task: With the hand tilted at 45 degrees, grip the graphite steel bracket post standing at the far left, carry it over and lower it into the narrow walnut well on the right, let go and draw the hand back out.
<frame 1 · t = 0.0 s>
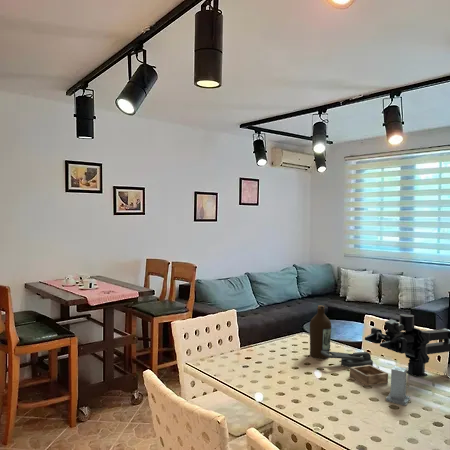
hand: (372, 341, 179), 17 cm above the table, tool horizontal, fingers open, 9 cm apart
bracket post: (398, 400, 160), on the table
olive oil: (319, 356, 210), on the table
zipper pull: (346, 365, 198), on the table
well: (368, 379, 181), on the table
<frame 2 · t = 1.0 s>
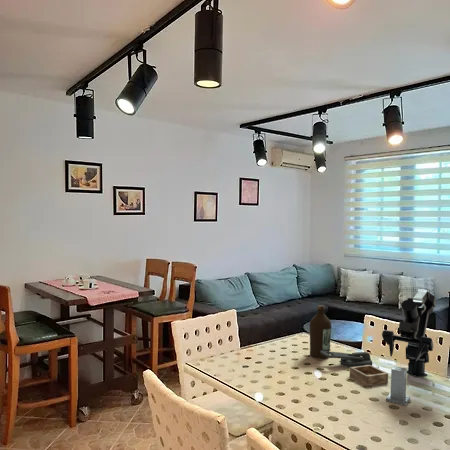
hand: (403, 358, 166), 14 cm above the table, tool tilted 45°, fingers open, 9 cm apart
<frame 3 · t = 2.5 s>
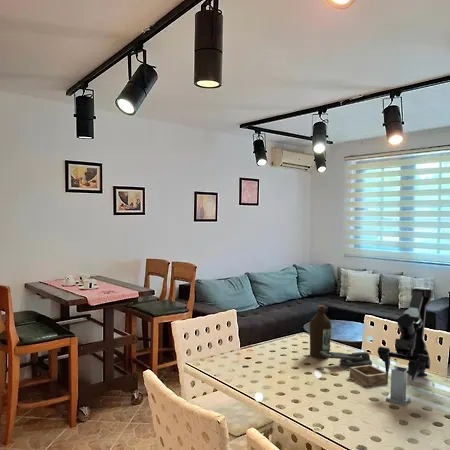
hand: (399, 376, 161), 9 cm above the table, tool tilted 45°, fingers open, 9 cm apart
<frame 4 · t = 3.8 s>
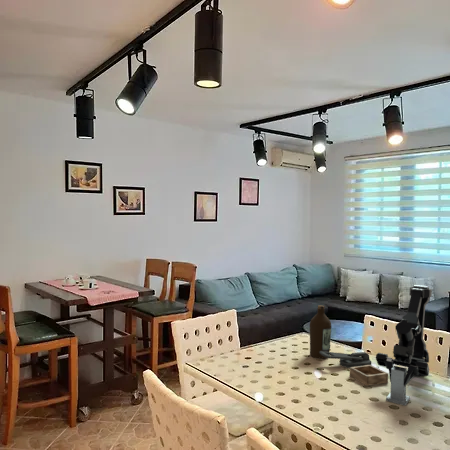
hand: (397, 383, 159), 7 cm above the table, tool tilted 45°, fingers closed on bracket post, 4 cm apart
bracket post: (398, 400, 160), on the table, touching gripper
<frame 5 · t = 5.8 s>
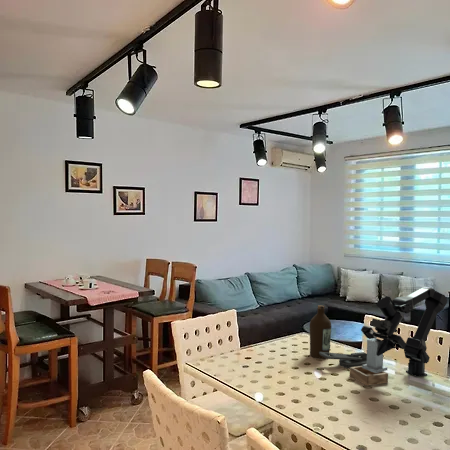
hand: (372, 353, 173), 13 cm above the table, tool tilted 45°, fingers closed on bracket post, 4 cm apart
bracket post: (374, 368, 174), point 7 cm above the table, touching gripper
when the fingers open (9 cm above the table, at t = 7.8 s): bracket post drops 1 cm, resting on well.
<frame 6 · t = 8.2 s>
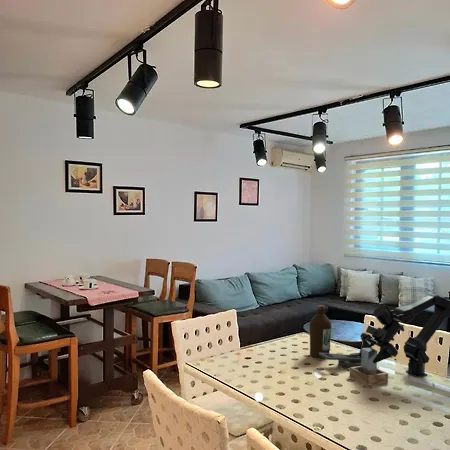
hand: (366, 359, 180), 9 cm above the table, tool tilted 45°, fingers open, 9 cm apart
bracket post: (368, 377, 181), point 1 cm above the table, touching well
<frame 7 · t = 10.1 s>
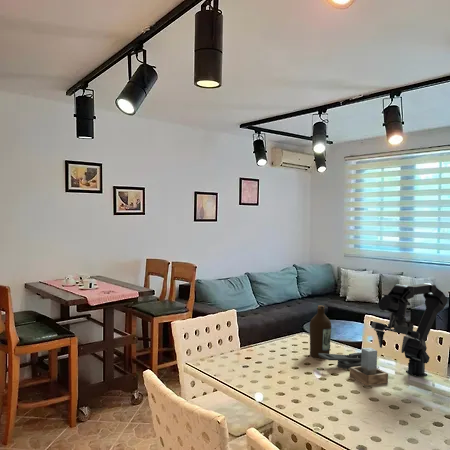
hand: (391, 350, 179), 13 cm above the table, tool pointing down, fingers open, 9 cm apart
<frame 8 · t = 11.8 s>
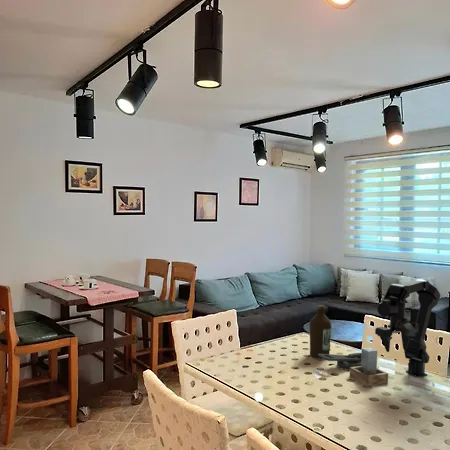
hand: (396, 350, 179), 13 cm above the table, tool pointing down, fingers open, 9 cm apart
at the end: bracket post 0.0 cm off-centre on the well, point 0.8 cm above the well's base; bracket post tilted 0°; the gripper is holding nothing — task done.
